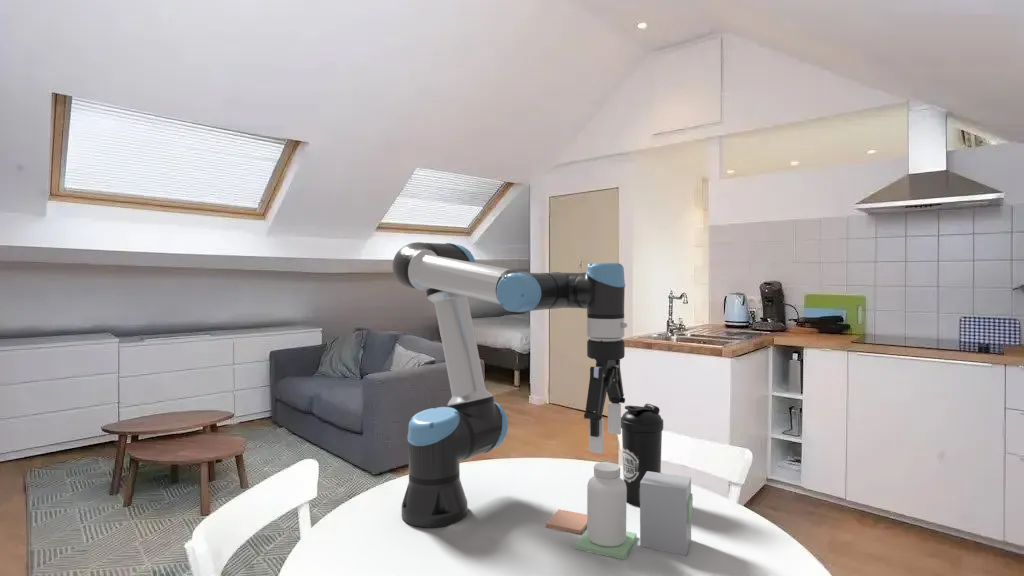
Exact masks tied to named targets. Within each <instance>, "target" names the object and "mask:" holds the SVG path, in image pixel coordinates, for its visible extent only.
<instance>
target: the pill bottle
mask: <svg viewBox="0 0 1024 576" xmlns="http://www.w3.org/2000/svg"><path fill="white" fill-rule="evenodd" d="M586 488H587V492H586V493H587V495H586V500H587V501H586V502H587V503H586V514H587V527H586V530H587V536H588V539H589V540H590V541H591V542H593V543H595V544H597V545H601V546H607V547H613V546H618V545H621V544H623V543H624V542H625V540H626V531H627V487H626V484H625V482H624V479H622V478H621V467H620V465H618V464H617V463H614V462H607V461H602V462H598V463H595V464H594V466H593V476H592V477H591V478H589V480H588V481H587V486H586Z"/></svg>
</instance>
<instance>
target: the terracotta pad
mask: <svg viewBox="0 0 1024 576" xmlns="http://www.w3.org/2000/svg"><path fill="white" fill-rule="evenodd" d="M545 528H549V529H554V530H559V531H564V532H569V533H573V534H578V535H582V533H584V532H585V531H584V530H586V529H587V513H583V512H582V513H580V512H577V511H576V512H575V511H569V510H565V509H558V510H557V511H555V513H554V514H553V515H552V516H551V517H550V518H549V519H548V520H547V522H546V523H545Z"/></svg>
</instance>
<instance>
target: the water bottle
mask: <svg viewBox="0 0 1024 576" xmlns="http://www.w3.org/2000/svg"><path fill="white" fill-rule="evenodd" d="M624 409H625V410H626V411H625V412H624V413H623V414H622V415H621V437H622V438H621V441H622V442H621V443H622V445H621V446H622V449H621V450H622V476H623V481H624V482H625V484H626V487H627V502H626V504H628V505H630V506H634V507H638V508H640V501H639V489H640V482H641V480H642V478H643V477H644V475H645V474H646V472H647V471H650V472H657V473H662V471H661V470H662V441H663V440H662V437H663V433H662V432H663V431H664V419H663V418H662V416H661V415H660V411H661V410H660V407H659V406H657V405H654V404H651V403H645V404H644V405H643V406H639V405H638V406H637V405H626V406H624Z"/></svg>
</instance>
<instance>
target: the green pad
mask: <svg viewBox="0 0 1024 576" xmlns="http://www.w3.org/2000/svg"><path fill="white" fill-rule="evenodd" d="M637 534H638V533H637V532H631V531H627V530H626V540H625V542H624V543H623V544H621V545H618V546H613V547H607V546H601V545H597V544H595V543H593V542H591V541H590V540H589V539H588V536H587V529H585V531H584V532H583V534H582V536H580V539H579V540H578V541H577V542H576V543H575V550H577V551H584V552H588V553H593V554H597V555H601V556H602V555H603V556H607V557H610V558H611V557H612V558H616V559H620V560H626V558H627V557H628V556H629V555H628V554H629V553H630V551H631V549H632V547H633V545H634V543H635V541H636V539H637Z"/></svg>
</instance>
